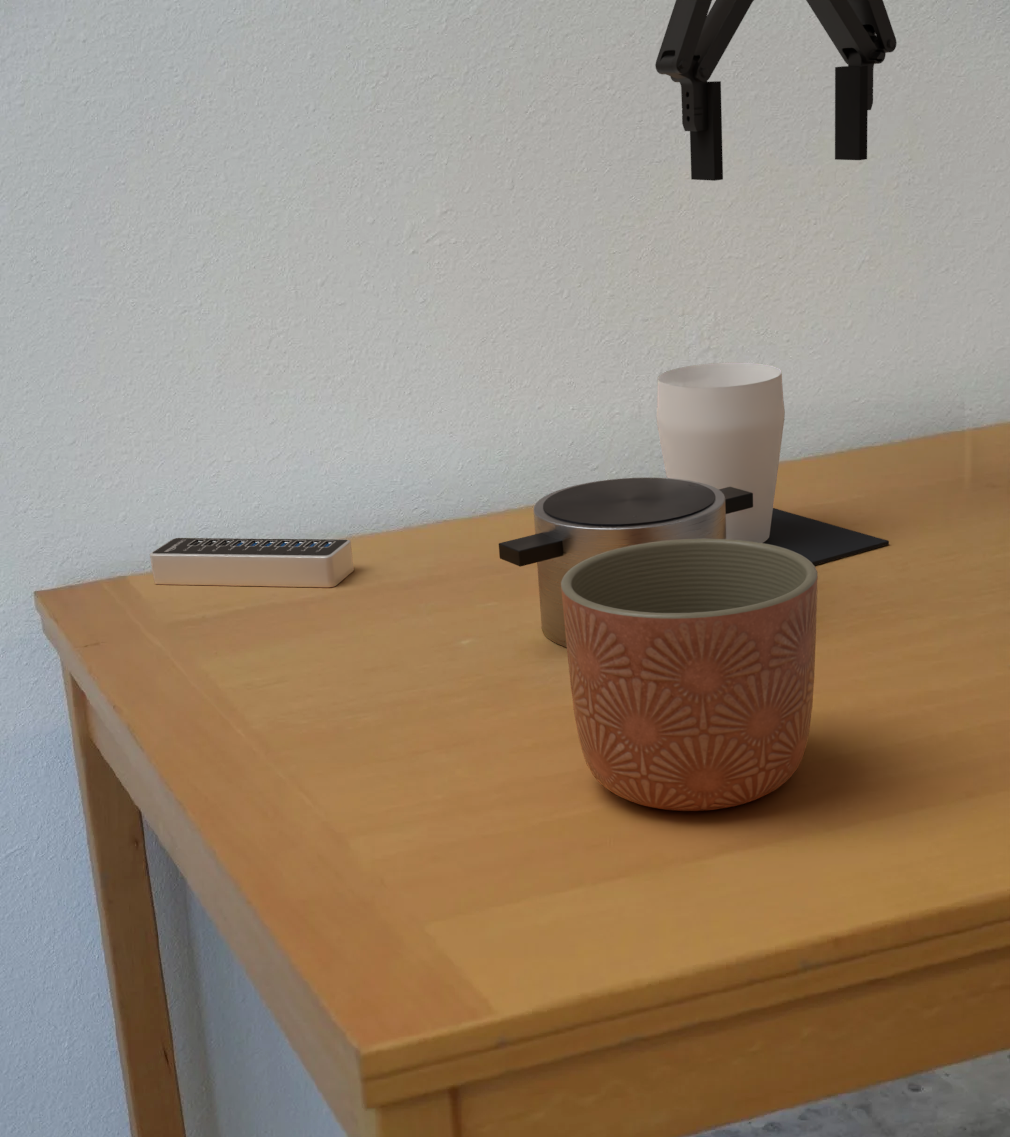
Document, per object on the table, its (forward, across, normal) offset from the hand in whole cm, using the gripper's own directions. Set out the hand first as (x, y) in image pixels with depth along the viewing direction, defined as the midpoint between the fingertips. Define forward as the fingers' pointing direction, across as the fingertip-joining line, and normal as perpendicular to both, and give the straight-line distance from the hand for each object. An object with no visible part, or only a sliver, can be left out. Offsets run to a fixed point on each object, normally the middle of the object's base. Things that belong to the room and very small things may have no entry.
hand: (780, 170), depth 125 cm
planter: (+25, +38, +38) cm, 59 cm away
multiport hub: (+25, +40, -12) cm, 49 cm away
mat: (+25, +10, +8) cm, 28 cm away
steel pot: (+25, +26, +16) cm, 39 cm away
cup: (+25, +11, +6) cm, 28 cm away
